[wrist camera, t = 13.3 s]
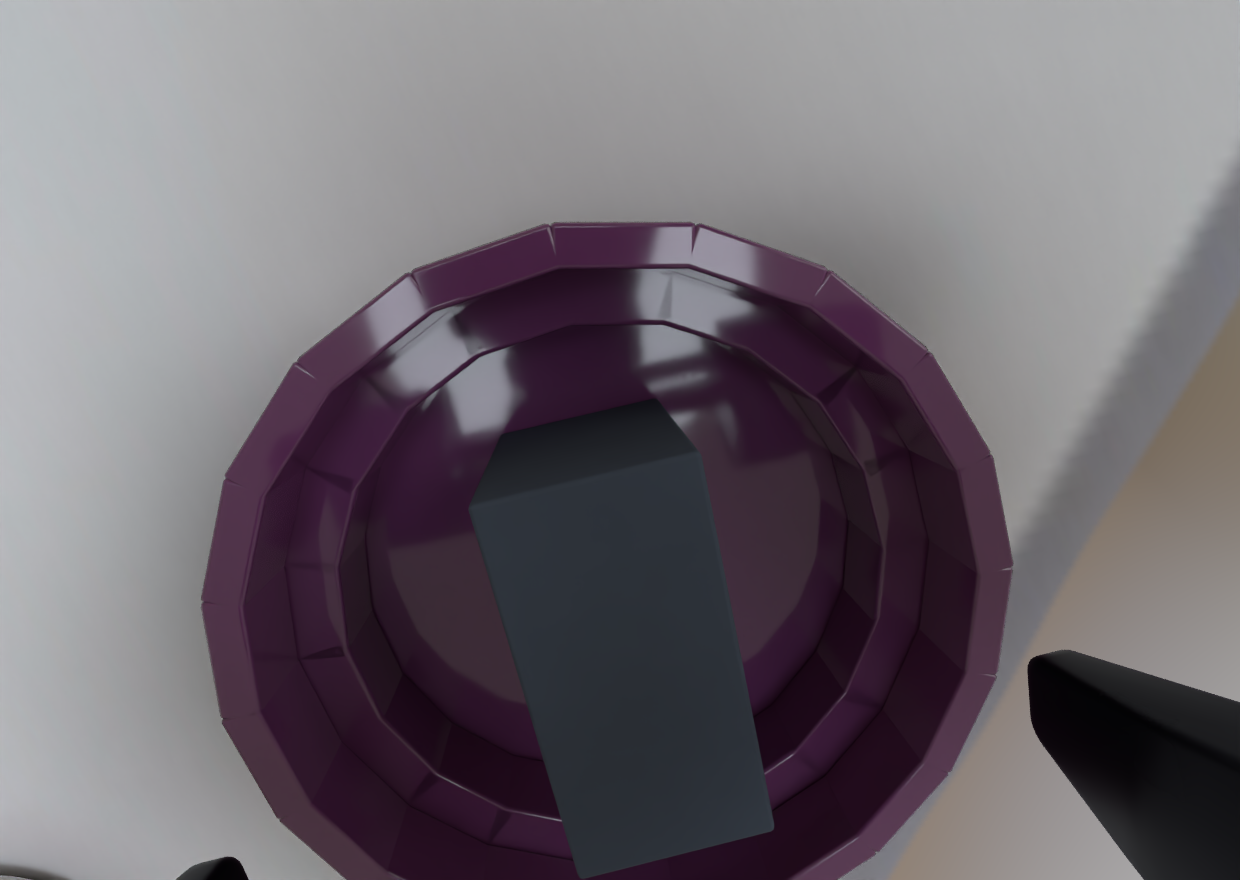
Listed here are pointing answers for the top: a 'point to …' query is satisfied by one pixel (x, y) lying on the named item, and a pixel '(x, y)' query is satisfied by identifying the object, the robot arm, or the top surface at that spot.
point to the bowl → (744, 519)
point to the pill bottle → (12, 878)
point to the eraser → (623, 635)
